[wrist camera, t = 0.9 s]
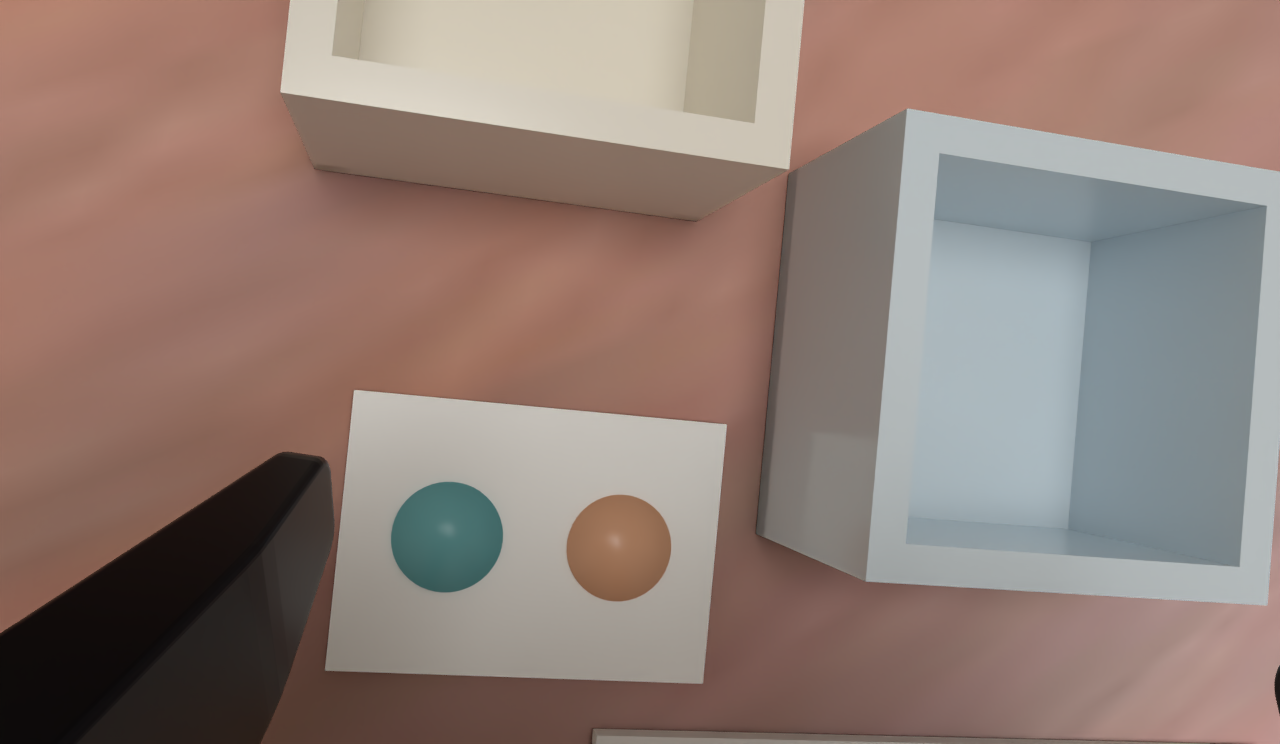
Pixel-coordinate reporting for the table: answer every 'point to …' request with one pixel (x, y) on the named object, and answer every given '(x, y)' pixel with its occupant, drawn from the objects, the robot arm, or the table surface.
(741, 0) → the open cream box
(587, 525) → the card
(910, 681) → the table surface
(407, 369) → the table surface
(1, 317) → the table surface
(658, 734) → the mat
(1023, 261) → the grey open box
